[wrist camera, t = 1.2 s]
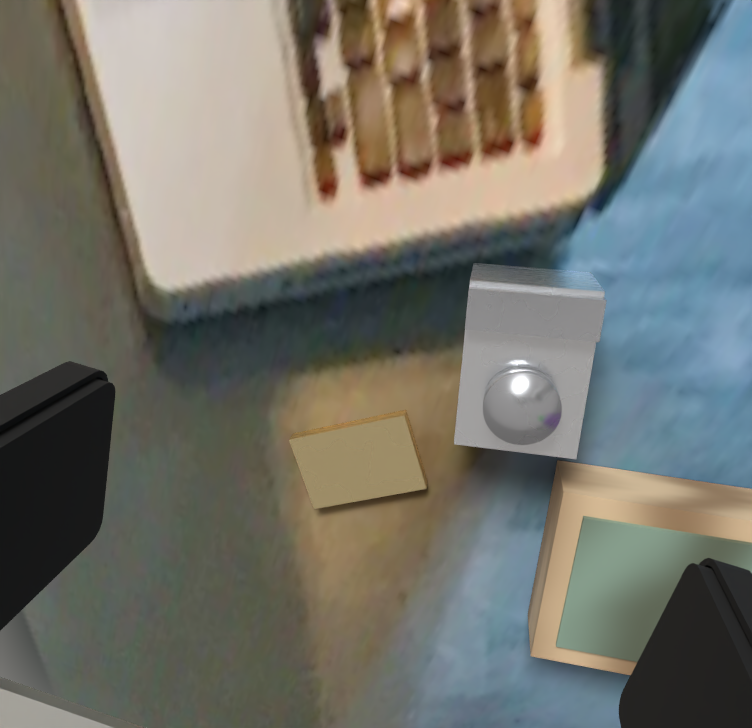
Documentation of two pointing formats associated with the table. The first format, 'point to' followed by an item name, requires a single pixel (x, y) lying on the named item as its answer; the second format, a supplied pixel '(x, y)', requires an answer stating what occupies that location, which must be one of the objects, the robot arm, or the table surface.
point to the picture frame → (624, 558)
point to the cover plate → (359, 460)
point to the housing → (527, 358)
